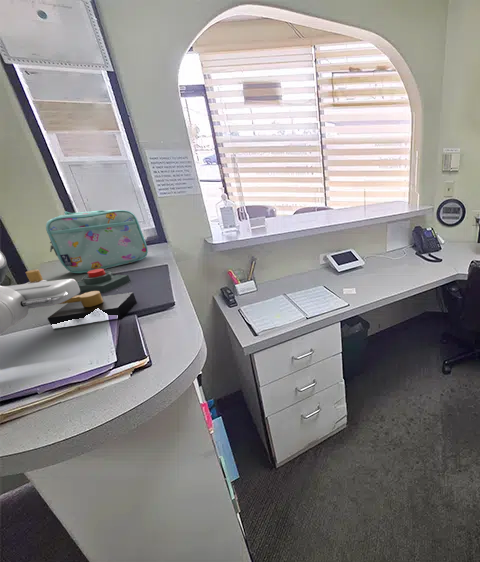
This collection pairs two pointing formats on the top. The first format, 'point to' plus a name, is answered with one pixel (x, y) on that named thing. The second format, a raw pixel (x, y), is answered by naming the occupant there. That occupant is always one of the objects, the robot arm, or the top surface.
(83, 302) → the crank handle
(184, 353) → the top surface
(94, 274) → the red button
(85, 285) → the control box
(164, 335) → the top surface
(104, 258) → the lunch box
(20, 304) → the robot arm
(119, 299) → the valve block
